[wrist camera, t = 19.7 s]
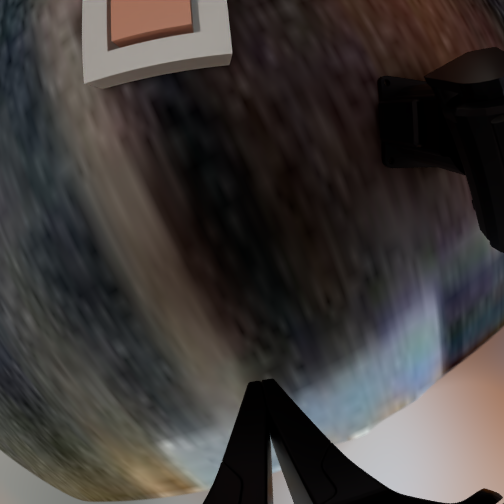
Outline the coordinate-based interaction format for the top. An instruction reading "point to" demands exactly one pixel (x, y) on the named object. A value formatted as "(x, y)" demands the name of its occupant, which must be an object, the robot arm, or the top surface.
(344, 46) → the top surface
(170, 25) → the button
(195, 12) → the button housing
